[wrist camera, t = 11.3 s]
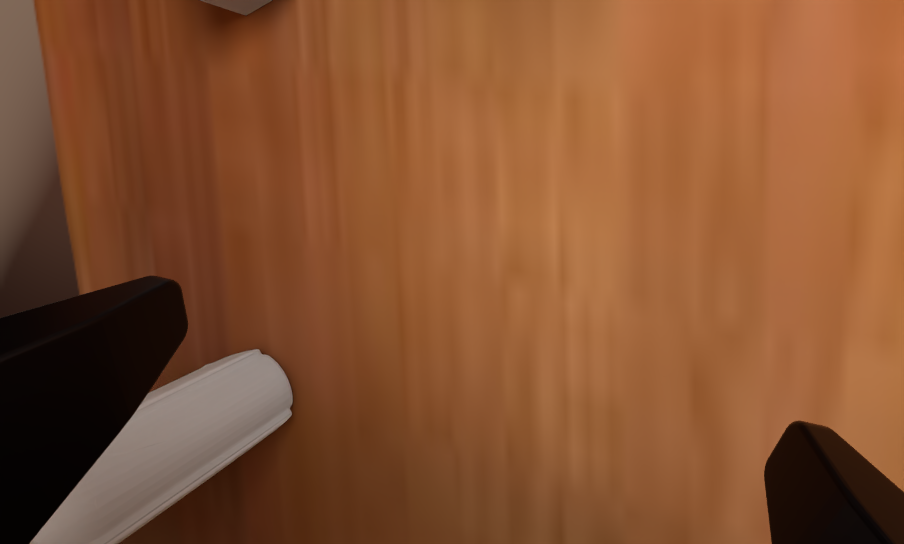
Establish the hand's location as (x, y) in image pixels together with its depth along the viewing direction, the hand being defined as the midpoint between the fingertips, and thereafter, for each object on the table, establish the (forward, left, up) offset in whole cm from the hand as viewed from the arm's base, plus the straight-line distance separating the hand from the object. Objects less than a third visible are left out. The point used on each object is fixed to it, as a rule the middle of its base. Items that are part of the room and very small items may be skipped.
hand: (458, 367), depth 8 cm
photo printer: (+13, +15, -12) cm, 23 cm away
